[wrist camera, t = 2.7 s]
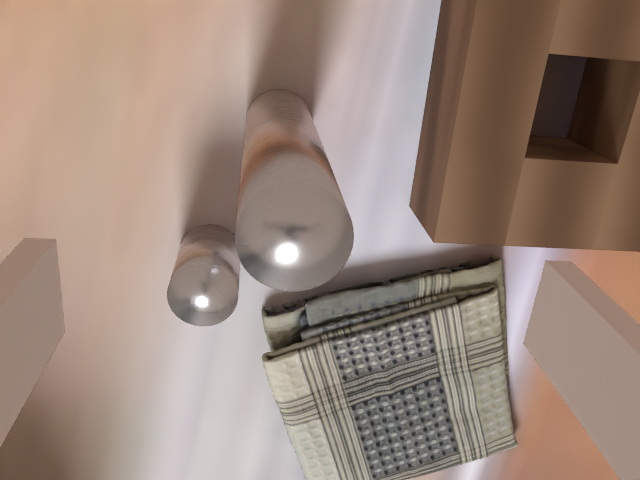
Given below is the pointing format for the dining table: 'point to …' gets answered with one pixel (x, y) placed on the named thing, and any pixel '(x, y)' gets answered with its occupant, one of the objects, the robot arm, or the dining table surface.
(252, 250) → the long pin
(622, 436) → the robot arm
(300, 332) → the dish towel
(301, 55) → the dining table surface
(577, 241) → the hole block
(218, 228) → the short pin
